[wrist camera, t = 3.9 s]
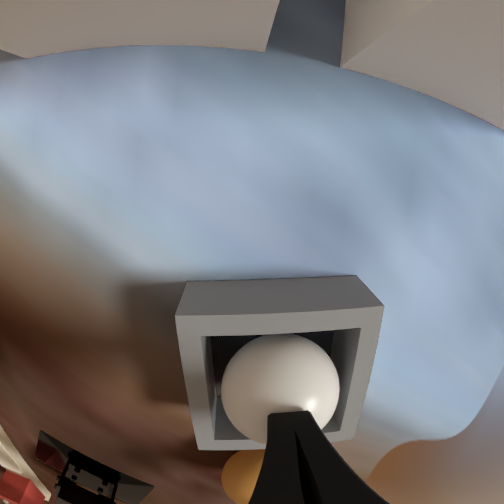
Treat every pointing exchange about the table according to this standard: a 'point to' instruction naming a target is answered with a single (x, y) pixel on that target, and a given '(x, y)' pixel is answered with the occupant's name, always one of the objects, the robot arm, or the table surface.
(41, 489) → the space track
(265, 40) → the white brackets
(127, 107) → the table surface
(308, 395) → the white glossy sphere
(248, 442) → the housing
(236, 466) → the figurine
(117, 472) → the black piece
